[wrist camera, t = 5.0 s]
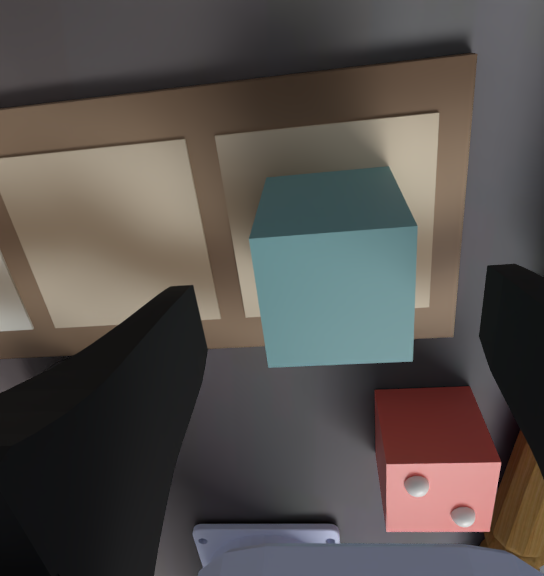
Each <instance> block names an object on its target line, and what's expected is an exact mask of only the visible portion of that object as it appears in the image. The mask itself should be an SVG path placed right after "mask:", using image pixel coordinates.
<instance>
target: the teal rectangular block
mask: <svg viewBox="0 0 544 576" xmlns="http://www.w3.org/2000/svg"><path fill="white" fill-rule="evenodd" d="M417 231H418V226H417V224H416V221H415V219H414V217H413V215H412V213H411V211H410V209H409V207H408V205H407V203H406V201H405V199H404V197H403V194H402V192H401V190H400V188H399V186H398V184H397V182H396V180H395V178H394V176H393V174H392V172H391V170H390V167H389V166H385V167H374V168H364V169H353V170H342V171H331V172H320V173H309V174H298V175H288V176H277V177H266V181H265V184H264V188H263V191H262V195H261V198H260V202H259V205H258V209H257V212H256V216H255V219H254V223H253V226H252V229H251V233H250V236H249V244H250V250H251V257H252V263H253V270H254V276H255V283H256V290H257V296H258V303H259V309H260V316H261V322H262V329H263V335H264V342H265V349H266V355H267V362H268V368H273V367H296V366H319V365H343V364H366V363H389V362H413V345H414V316H415V288H416V259H417Z"/></svg>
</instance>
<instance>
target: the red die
mask: <svg viewBox="0 0 544 576" xmlns="http://www.w3.org/2000/svg"><path fill="white" fill-rule="evenodd" d="M375 451H376V460H377V468H378V475H379V482H380V489H381V496H382V504H383V511H384V518H385V525H386V532H490V527H491V521H492V515H493V509H494V503H495V497H496V492H497V486H498V480H499V474H500V468H501V460H500V458H499V455H498V453H497V450H496V448H495V446H494V443H493V441H492V438H491V436H490V433H489V431H488V429H487V426H486V424H485V421H484V419H483V417H482V414H481V412H480V409H479V407H478V405H477V402H476V400H475V397H474V395H473V393H472V390H471V388H470V386H464V387H436V388H408V389H380V390H375Z"/></svg>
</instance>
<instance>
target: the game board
mask: <svg viewBox="0 0 544 576" xmlns="http://www.w3.org/2000/svg"><path fill="white" fill-rule="evenodd" d="M476 64H477V54H475V53H466V54H457V55H449V56H440V57H432V58H424V59H415V60H407V61H398V62H390V63H381V64H373V65H364V66H356V67H347V68H339V69H330V70H322V71H314V72H305V73H297V74H288V75H280V76H271V77H263V78H254V79H246V80H237V81H229V82H221V83H212V84H204V85H195V86H187V87H178V88H170V89H161V90H153V91H144V92H136V93H128V94H119V95H111V96H102V97H94V98H85V99H77V100H68V101H60V102H51V103H43V104H34V105H26V106H18V107H9V108H1V109H0V359H10V358H31V357H51V356H72V355H75V354H77V353H78V352H80V351H81V350H83V349H85V348H86V347H88V346H89V345H91V344H92V343H94V342H95V341H96V340H98V339H99V338H101V337H102V336H103V335H105V334H106V333H108V332H109V331H111V330H112V329H113V328H115V327H116V326H118V325H119V324H120V323H122V322H123V321H124V320H126V319H127V318H128V317H129V316H131V315H132V314H133V313H135V312H136V311H137V310H139V309H140V308H141V307H142V306H144V305H145V304H146V303H148V302H149V301H150V300H151V299H153V298H154V297H155V296H157V295H158V294H159V293H161V292H162V291H164V290H165V289H167V288H168V287H170V286H182V285H193V286H194V291H195V295H196V299H197V304H198V308H199V313H200V317H201V321H202V326H203V330H204V335H205V339H206V343H207V348H208V349H216V348H237V347H258V346H265V342H264V335H263V329H262V322H261V316H260V309H259V303H258V296H257V290H256V283H255V276H254V270H253V263H252V257H251V250H250V244H249V236H250V233H251V229H252V226H253V223H254V219H255V216H256V212H257V209H258V205H259V202H260V198H261V195H262V191H263V188H264V184H265V181H266V177H277V176H288V175H298V174H309V173H320V172H331V171H342V170H353V169H364V168H374V167H385V166H389V167H390V170H391V172H392V174H393V176H394V178H395V180H396V182H397V184H398V186H399V188H400V190H401V192H402V194H403V197H404V199H405V201H406V203H407V205H408V207H409V209H410V211H411V213H412V215H413V217H414V219H415V221H416V224H417V226H418V231H417V259H416V288H415V316H414V339H423V338H443V337H453V336H454V324H455V312H456V300H457V288H458V277H459V265H460V253H461V241H462V229H463V217H464V206H465V194H466V182H467V170H468V158H469V146H470V135H471V123H472V111H473V99H474V87H475V76H476Z"/></svg>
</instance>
